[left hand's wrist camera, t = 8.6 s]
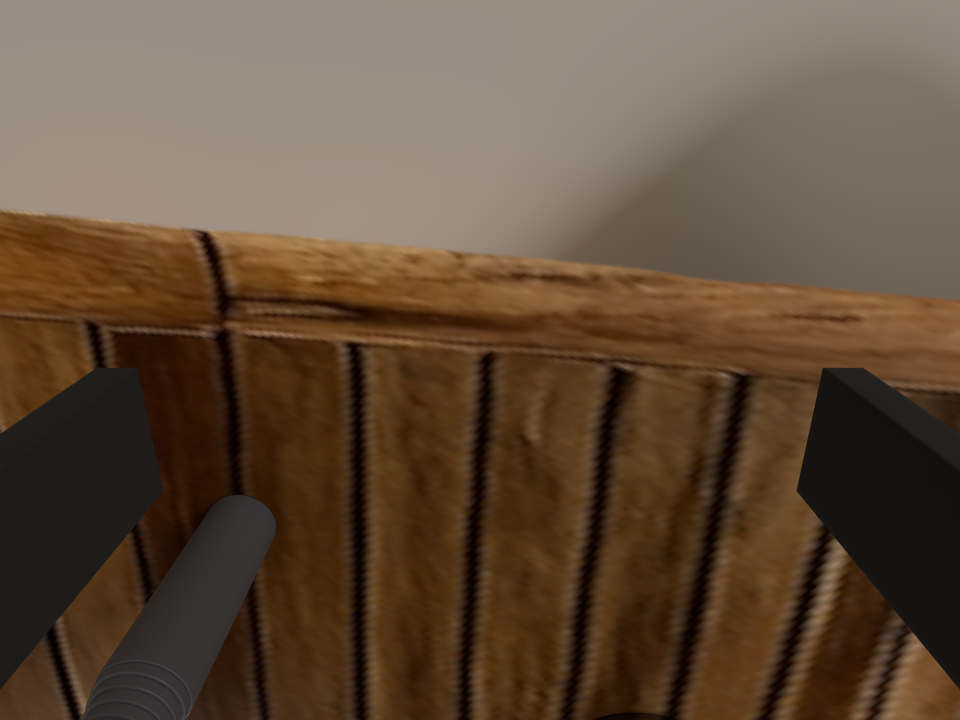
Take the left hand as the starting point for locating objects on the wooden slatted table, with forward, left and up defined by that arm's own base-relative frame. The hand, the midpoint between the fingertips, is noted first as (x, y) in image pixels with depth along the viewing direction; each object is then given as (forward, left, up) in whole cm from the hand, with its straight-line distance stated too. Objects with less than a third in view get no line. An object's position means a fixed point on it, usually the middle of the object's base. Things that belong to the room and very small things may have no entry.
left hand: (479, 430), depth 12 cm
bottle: (-23, +18, -28) cm, 40 cm away
